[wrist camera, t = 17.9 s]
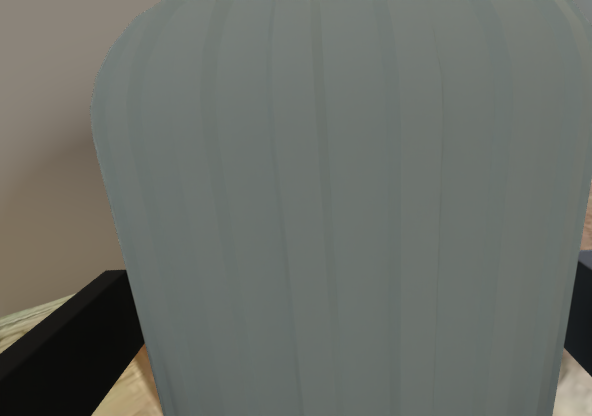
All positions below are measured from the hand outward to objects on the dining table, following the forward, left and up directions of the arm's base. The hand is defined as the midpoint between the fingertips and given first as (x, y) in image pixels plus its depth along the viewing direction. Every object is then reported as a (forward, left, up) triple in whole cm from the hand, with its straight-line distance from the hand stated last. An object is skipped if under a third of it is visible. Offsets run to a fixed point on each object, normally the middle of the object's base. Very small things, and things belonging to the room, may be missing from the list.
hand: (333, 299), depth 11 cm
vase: (0, 0, -14) cm, 14 cm away
